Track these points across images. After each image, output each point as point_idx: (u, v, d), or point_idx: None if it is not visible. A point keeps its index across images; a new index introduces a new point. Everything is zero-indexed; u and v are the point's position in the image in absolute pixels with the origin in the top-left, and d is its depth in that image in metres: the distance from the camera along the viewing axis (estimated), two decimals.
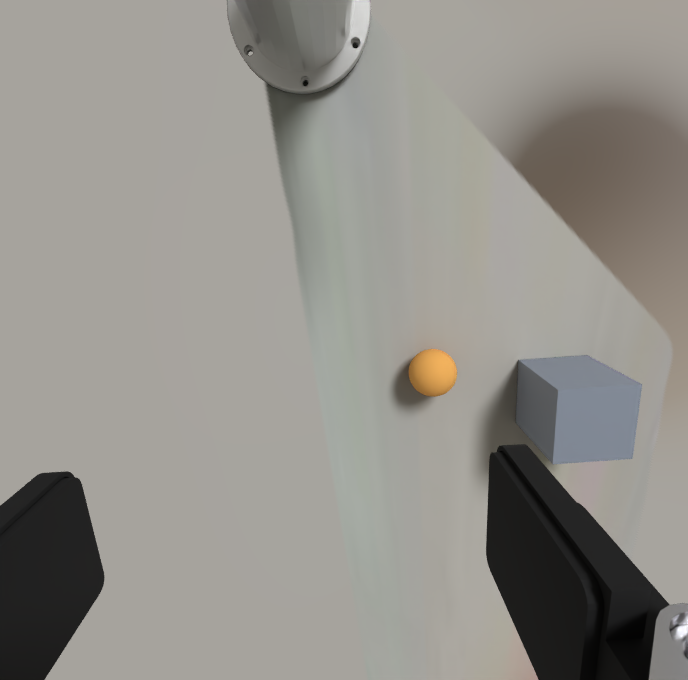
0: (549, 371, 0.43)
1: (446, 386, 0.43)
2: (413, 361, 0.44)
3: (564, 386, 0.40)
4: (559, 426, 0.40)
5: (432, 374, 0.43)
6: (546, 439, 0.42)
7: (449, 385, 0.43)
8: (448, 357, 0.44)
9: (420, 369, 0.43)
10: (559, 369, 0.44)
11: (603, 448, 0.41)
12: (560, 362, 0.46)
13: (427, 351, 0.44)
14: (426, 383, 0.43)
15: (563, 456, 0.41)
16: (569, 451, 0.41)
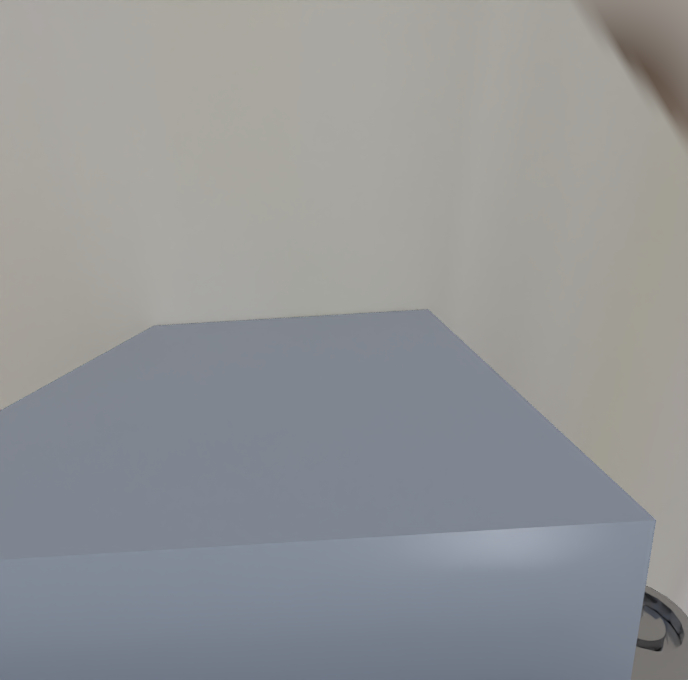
0: (141, 371, 0.08)
1: None
2: None
3: None
4: None
5: None
6: None
7: None
8: None
9: None
10: (207, 362, 0.08)
11: None
12: (282, 332, 0.10)
13: None
14: None
15: None
16: None
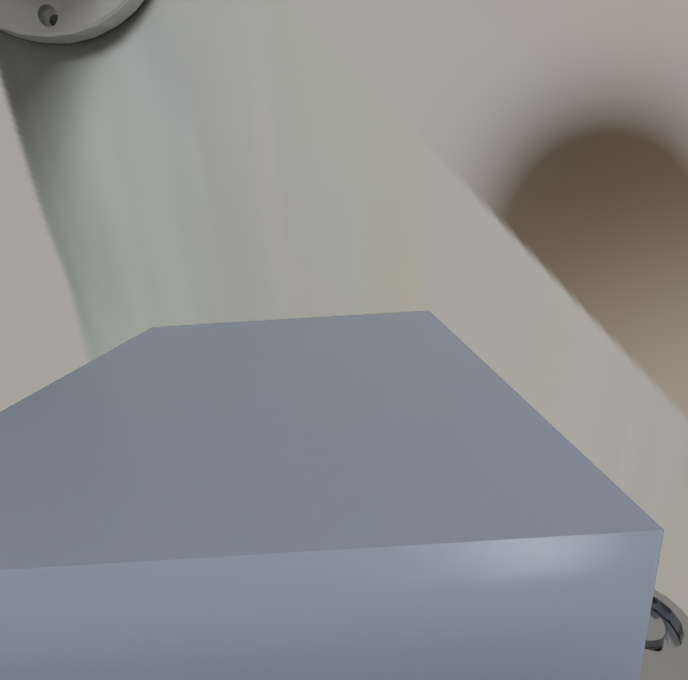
0: (140, 373, 0.08)
1: None
2: None
3: None
4: None
5: None
6: None
7: None
8: None
9: None
10: (206, 365, 0.08)
11: None
12: (282, 334, 0.10)
13: None
14: None
15: None
16: None
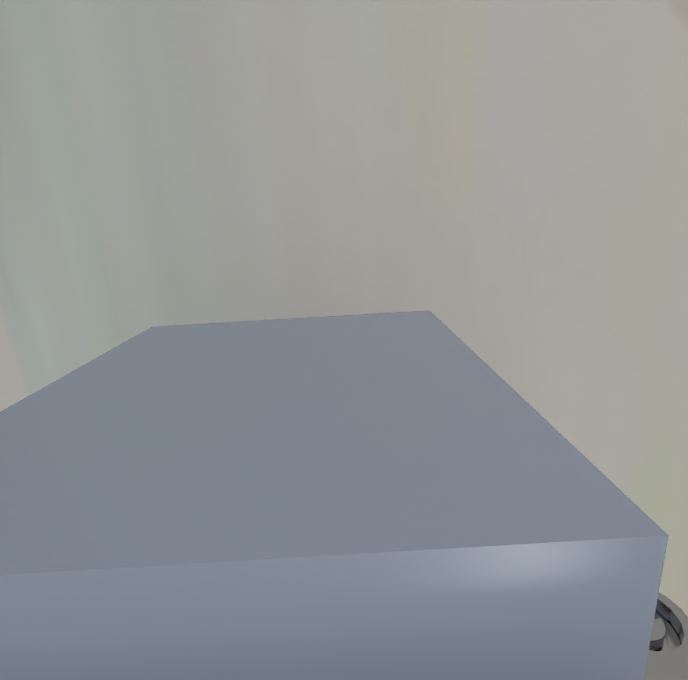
0: (139, 374, 0.08)
1: None
2: None
3: None
4: None
5: None
6: None
7: None
8: None
9: None
10: (205, 365, 0.08)
11: None
12: (282, 334, 0.10)
13: None
14: None
15: None
16: None
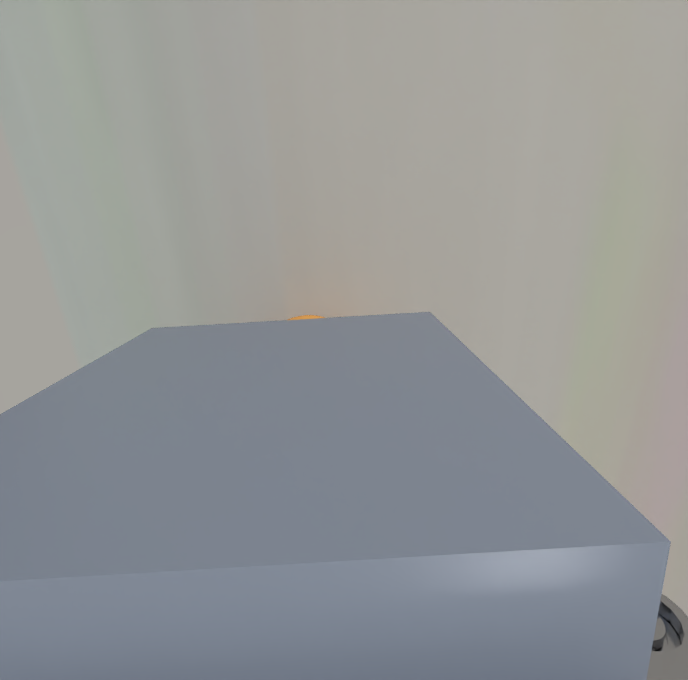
0: (138, 376, 0.08)
1: None
2: None
3: None
4: None
5: None
6: None
7: None
8: None
9: None
10: (205, 367, 0.08)
11: None
12: (282, 335, 0.10)
13: None
14: None
15: None
16: None
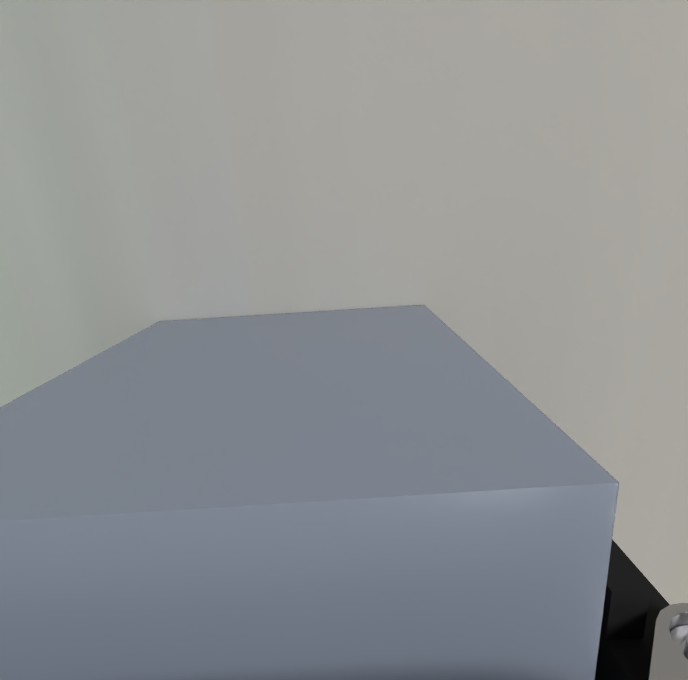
0: (150, 362, 0.08)
1: None
2: None
3: None
4: None
5: None
6: None
7: None
8: None
9: None
10: (212, 354, 0.09)
11: None
12: (283, 326, 0.11)
13: None
14: None
15: None
16: None
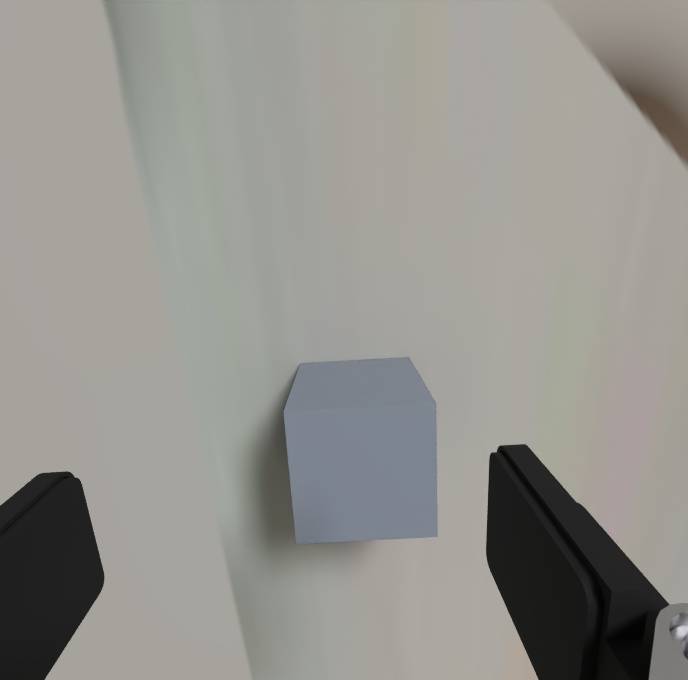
0: (317, 380, 0.26)
1: None
2: None
3: (304, 405, 0.22)
4: (296, 477, 0.22)
5: None
6: None
7: None
8: None
9: None
10: (336, 378, 0.26)
11: (381, 518, 0.23)
12: (354, 367, 0.28)
13: None
14: None
15: (312, 530, 0.23)
16: (321, 522, 0.23)
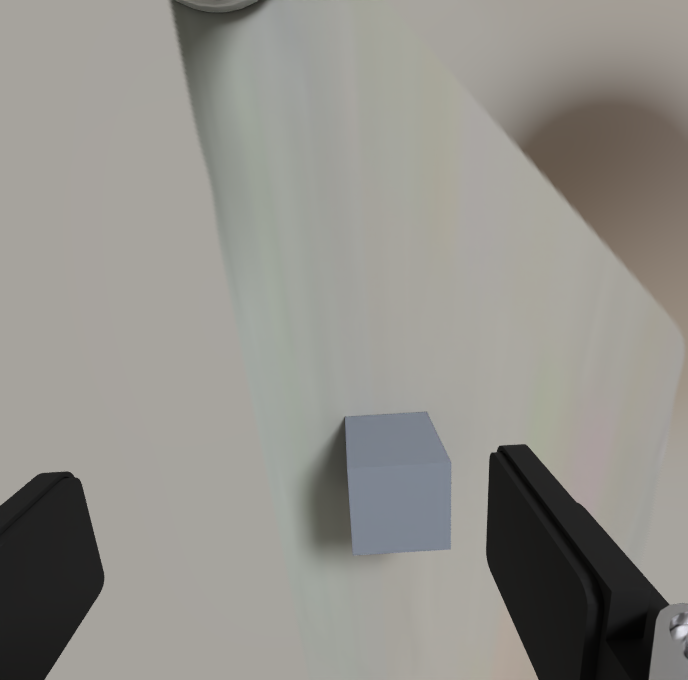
0: (363, 436, 0.36)
1: None
2: None
3: (360, 462, 0.32)
4: (354, 511, 0.32)
5: None
6: None
7: None
8: None
9: None
10: (376, 434, 0.36)
11: (412, 537, 0.33)
12: (387, 422, 0.38)
13: None
14: None
15: (364, 546, 0.33)
16: (371, 541, 0.33)
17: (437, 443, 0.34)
